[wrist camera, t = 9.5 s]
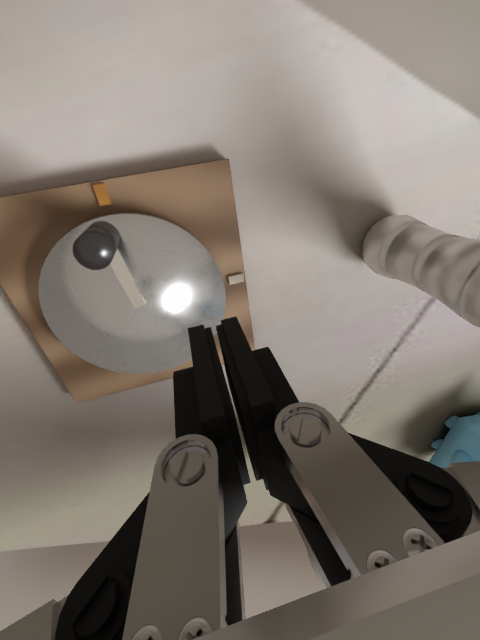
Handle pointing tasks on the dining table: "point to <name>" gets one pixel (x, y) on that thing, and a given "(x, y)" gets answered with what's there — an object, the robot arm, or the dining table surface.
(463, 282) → the plastic bottle
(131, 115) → the dining table surface
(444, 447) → the teakettle
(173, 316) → the dial
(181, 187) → the dial base
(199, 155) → the dining table surface
